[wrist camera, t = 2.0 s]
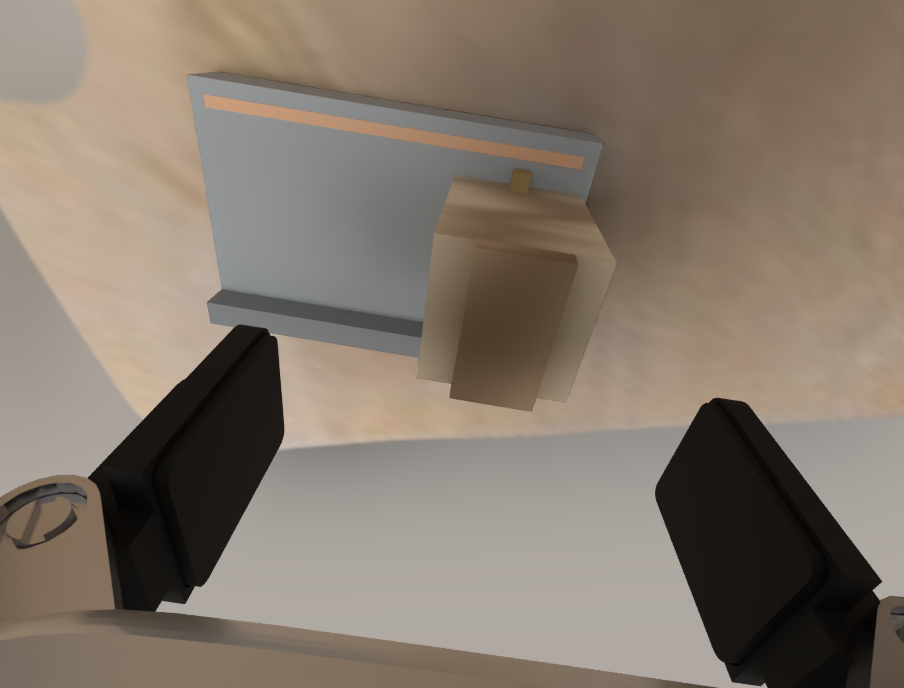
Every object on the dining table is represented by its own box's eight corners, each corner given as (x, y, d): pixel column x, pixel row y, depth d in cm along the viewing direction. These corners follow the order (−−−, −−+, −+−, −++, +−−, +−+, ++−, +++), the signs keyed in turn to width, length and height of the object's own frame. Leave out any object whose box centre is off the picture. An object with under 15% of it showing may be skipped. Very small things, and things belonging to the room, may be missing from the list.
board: (593, 134, 17) (611, 150, 14) (535, 336, 22) (540, 377, 19) (218, 72, 17) (164, 76, 14) (246, 289, 22) (210, 323, 19)
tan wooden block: (586, 178, 16) (632, 249, 10) (547, 307, 18) (567, 417, 13) (457, 156, 16) (433, 217, 10) (439, 289, 18) (413, 392, 13)
